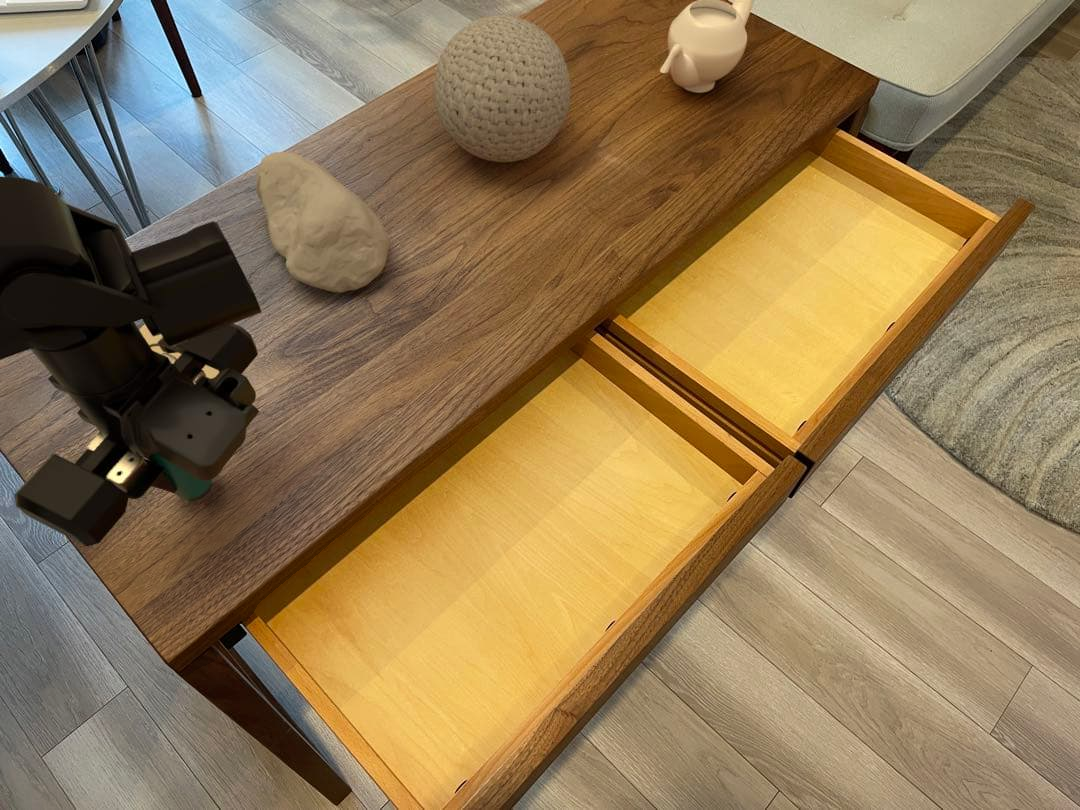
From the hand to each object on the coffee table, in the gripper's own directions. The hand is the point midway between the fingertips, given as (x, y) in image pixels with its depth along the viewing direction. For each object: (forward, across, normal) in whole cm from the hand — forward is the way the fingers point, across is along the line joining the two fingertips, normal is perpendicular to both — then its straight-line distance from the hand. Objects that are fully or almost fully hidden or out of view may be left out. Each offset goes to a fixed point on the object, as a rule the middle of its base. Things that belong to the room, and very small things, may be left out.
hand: (185, 472), depth 63 cm
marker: (+3, 0, 0) cm, 3 cm away
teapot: (+4, +75, -19) cm, 77 cm away
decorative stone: (+4, +29, +7) cm, 30 cm away
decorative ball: (+4, +52, -3) cm, 52 cm away
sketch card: (+4, +8, +11) cm, 14 cm away
